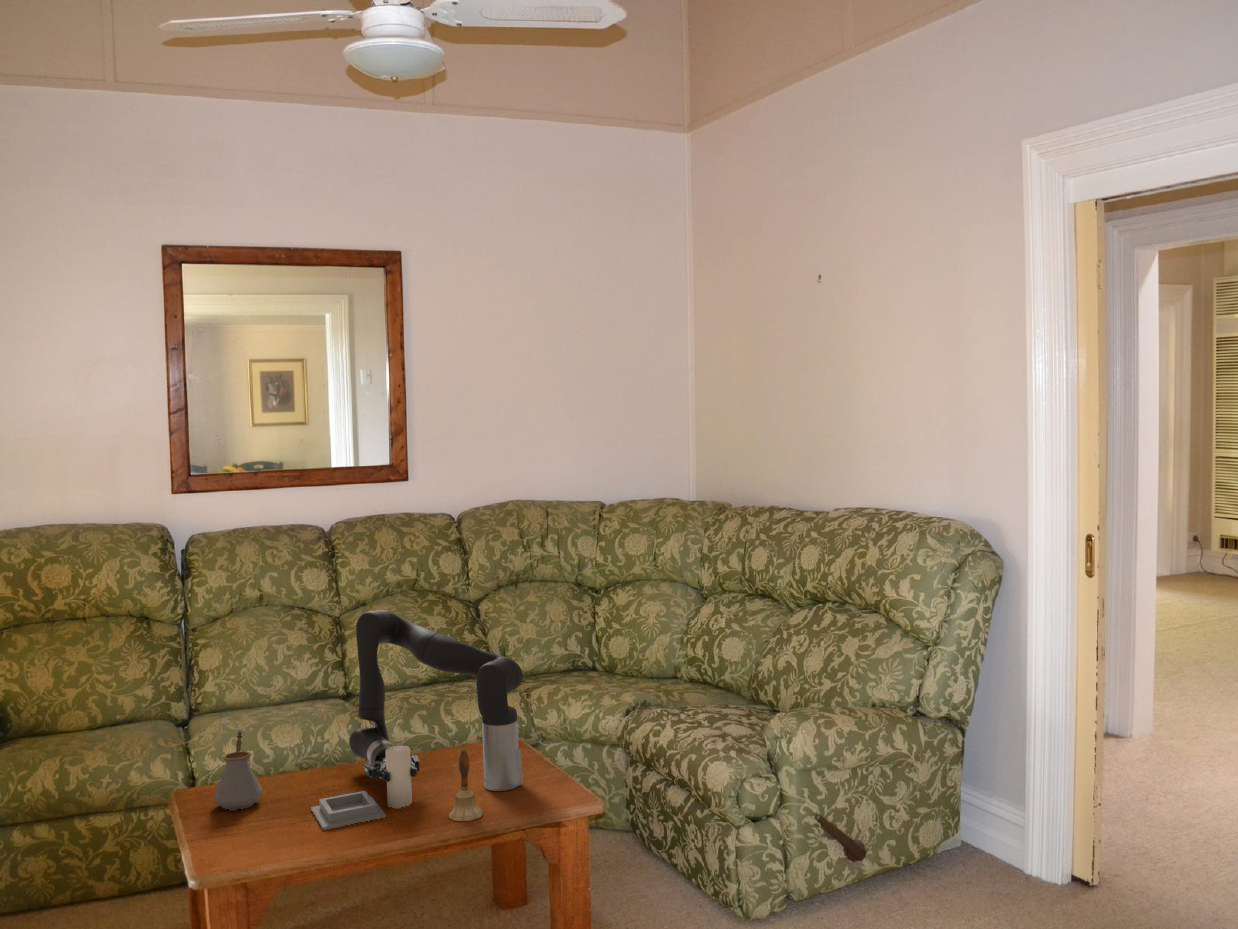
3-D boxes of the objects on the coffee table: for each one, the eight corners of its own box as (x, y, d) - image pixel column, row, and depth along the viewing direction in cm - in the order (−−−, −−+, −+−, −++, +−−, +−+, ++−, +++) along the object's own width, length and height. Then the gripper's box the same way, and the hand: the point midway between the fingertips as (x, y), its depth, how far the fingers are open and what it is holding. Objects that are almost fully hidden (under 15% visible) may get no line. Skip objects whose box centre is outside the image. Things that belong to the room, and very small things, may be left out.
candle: (408, 798, 270) (406, 744, 269) (414, 805, 264) (412, 750, 264) (385, 802, 267) (382, 748, 266) (391, 810, 262) (388, 754, 261)
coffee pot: (261, 810, 264) (259, 751, 264) (212, 816, 261) (210, 756, 260) (265, 782, 285) (262, 727, 284) (219, 787, 282) (217, 732, 281)
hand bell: (444, 813, 259) (442, 749, 258) (477, 806, 262) (475, 743, 262) (454, 824, 251) (451, 758, 251) (487, 818, 255) (485, 753, 254)
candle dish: (370, 799, 270) (370, 787, 270) (385, 818, 256) (385, 805, 256) (311, 810, 263) (310, 798, 263) (323, 830, 250) (322, 818, 249)
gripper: (356, 747, 275) (372, 765, 260) (410, 738, 281) (428, 755, 266) (357, 776, 275) (373, 795, 260) (411, 766, 281) (429, 785, 266)
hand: (401, 775), depth 263 cm, fingers closed on candle, 6 cm apart
